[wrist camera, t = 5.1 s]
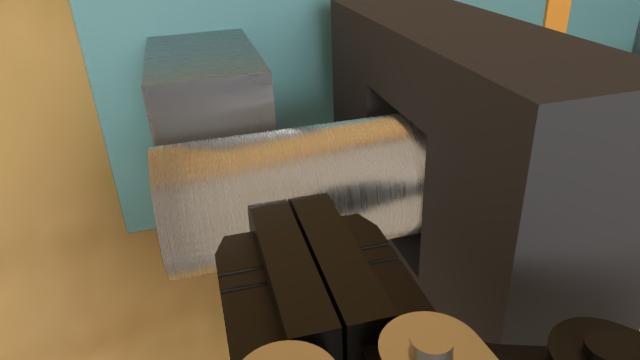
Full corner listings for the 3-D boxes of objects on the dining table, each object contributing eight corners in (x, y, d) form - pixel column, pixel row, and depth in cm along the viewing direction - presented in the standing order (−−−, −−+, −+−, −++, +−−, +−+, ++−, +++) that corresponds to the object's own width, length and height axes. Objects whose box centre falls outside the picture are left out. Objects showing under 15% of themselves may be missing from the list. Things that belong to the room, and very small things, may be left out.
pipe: (173, 177, 19) (181, 345, 12) (147, 37, 17) (135, 135, 9) (673, 102, 24) (906, 188, 16) (707, -15, 21) (996, 23, 14)
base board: (129, 219, 20) (127, 235, 19) (67, -29, 16) (61, -26, 15) (678, 129, 26) (699, 138, 25) (739, -73, 22) (767, -73, 21)
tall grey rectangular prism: (336, 202, 19) (483, 446, 10) (330, -1, 16) (539, 104, 7) (413, 189, 19) (613, 408, 11) (423, -9, 16) (720, 79, 8)
